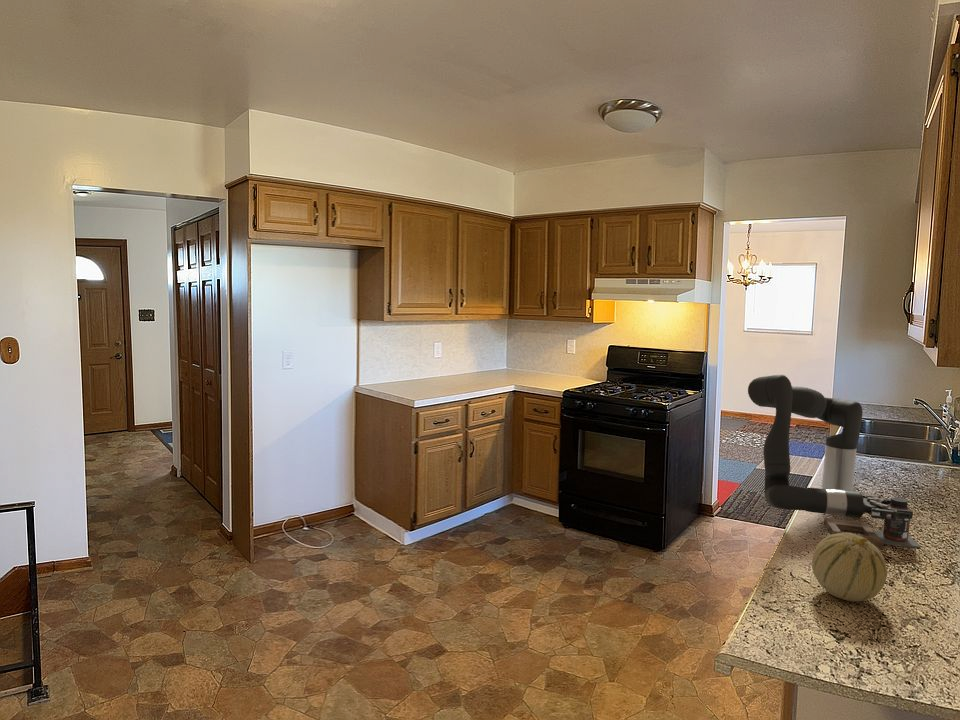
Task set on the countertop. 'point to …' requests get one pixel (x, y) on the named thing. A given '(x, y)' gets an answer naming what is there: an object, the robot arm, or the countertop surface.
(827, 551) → the cantaloupe
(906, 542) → the rubber mat
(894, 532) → the supplement bottle
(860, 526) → the walnut holder
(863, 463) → the countertop surface
